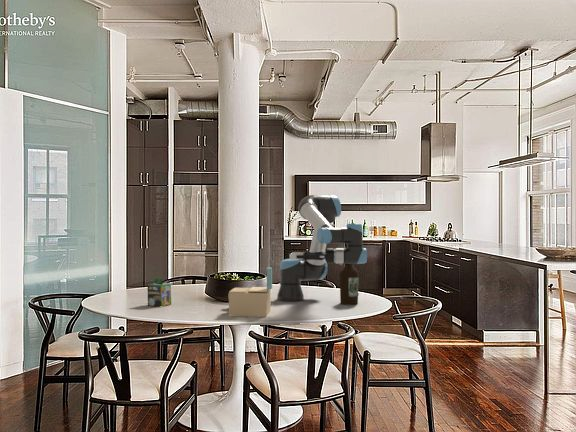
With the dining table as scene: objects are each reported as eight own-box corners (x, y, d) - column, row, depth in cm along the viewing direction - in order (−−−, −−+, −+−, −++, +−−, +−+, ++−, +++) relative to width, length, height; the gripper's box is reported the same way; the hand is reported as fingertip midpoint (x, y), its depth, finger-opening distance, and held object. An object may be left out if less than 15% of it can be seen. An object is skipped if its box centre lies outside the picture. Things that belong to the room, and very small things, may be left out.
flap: (252, 288, 282) (252, 266, 282) (273, 288, 281) (273, 266, 281) (248, 291, 268) (248, 269, 268) (269, 292, 267) (269, 269, 267)
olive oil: (335, 303, 308) (335, 257, 308) (350, 301, 314) (350, 256, 314) (347, 305, 299) (347, 258, 299) (362, 303, 305) (363, 257, 305)
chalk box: (171, 304, 302) (171, 277, 302) (161, 307, 294) (161, 278, 294) (157, 303, 306) (157, 276, 306) (146, 305, 298) (146, 278, 298)
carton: (234, 310, 283) (234, 287, 283) (270, 310, 282) (270, 287, 282) (228, 316, 267) (228, 291, 267) (266, 316, 266) (266, 292, 266)
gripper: (334, 265, 259) (288, 265, 260) (334, 261, 283) (292, 261, 285) (334, 249, 259) (288, 249, 260) (334, 246, 283) (292, 246, 285)
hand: (290, 255), depth 273 cm, fingers open, 13 cm apart
